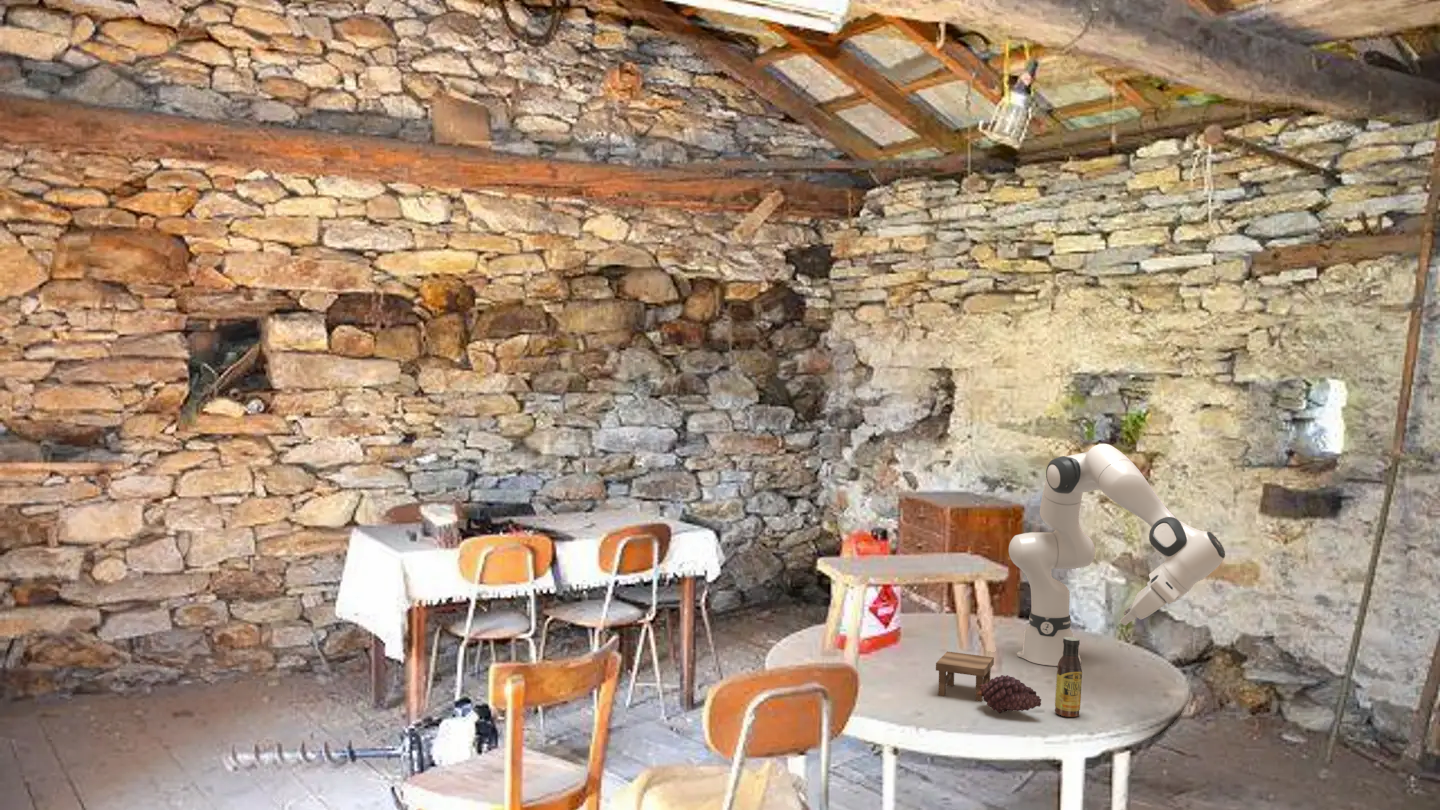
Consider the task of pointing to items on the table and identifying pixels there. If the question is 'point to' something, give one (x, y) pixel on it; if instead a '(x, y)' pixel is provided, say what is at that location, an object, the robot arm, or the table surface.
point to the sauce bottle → (1069, 680)
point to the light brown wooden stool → (963, 670)
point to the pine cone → (1008, 695)
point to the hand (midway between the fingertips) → (1123, 618)
